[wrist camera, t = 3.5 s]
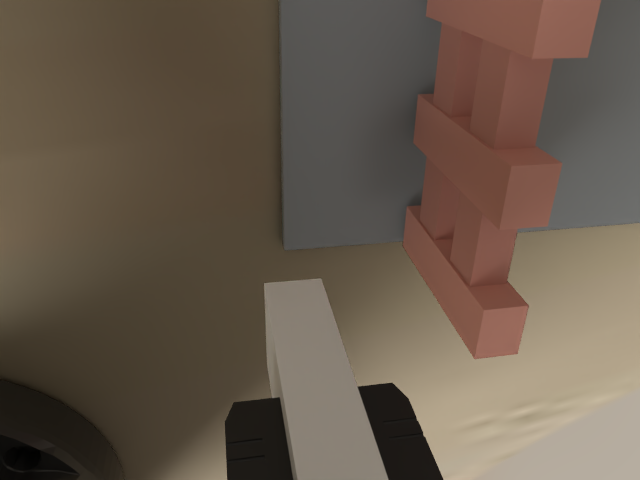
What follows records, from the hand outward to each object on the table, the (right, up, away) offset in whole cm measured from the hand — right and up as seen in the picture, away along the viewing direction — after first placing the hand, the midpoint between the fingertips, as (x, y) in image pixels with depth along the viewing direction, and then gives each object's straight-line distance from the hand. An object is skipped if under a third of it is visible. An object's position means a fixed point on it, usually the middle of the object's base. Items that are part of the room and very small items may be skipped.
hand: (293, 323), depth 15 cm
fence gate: (+5, +8, +5) cm, 10 cm away
